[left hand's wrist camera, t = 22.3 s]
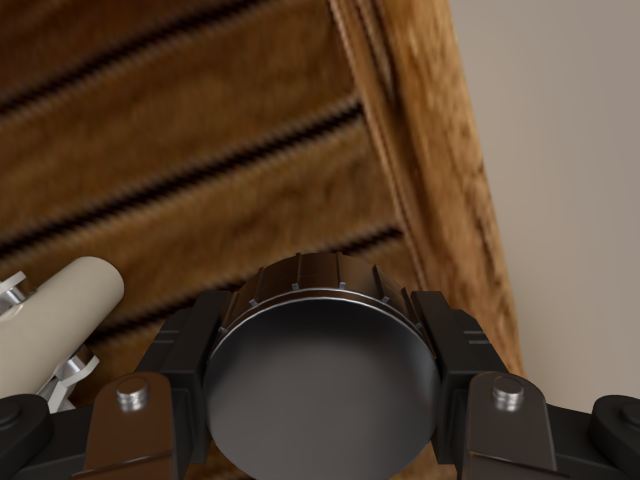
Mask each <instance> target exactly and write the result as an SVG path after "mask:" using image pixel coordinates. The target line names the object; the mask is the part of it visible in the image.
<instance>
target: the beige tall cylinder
mask: <svg viewBox="0 0 640 480" xmlns="http://www.w3.org/2000/svg"><path fill="white" fill-rule="evenodd" d="M123 294H124V283H123V280H122V277H121V275H120V274H119V272H118V271H117V270H116V269H115V268H114V267H113V266H112V265H111V264H110V263H108V262H106V261H104V260H102V259H99V258H96V257H81V258H78V259H76V260H74V261H72V262H71V263H69V264H68V265H67V266H65V267H64V268H63V269H61V270H60V271H59V272H57V273H56V274H55V275H53V276H52V277H51V278H49V279H48V280H47V281H45V282H44V283H43V284H41V285H40V286H38V287H37V291H35V292H34V293H33V294H31V295H30V296H29V297H27V298H26V299H25V300H23V301H22V302H20V303H19V304H17V305H15V306H12V307H10V308H9V309H8V310H6V311H5V312H4V313H2V314H1V315H0V399H1V398H4V397H8V396H12V395H17V394H36V395H37V394H38V393H39V392H40V391H41V390H42V389H43V388H44V386H45V385H46V384H47V383H48V382H49V381H50V380H51V379H52V378H53V376H54V375H55V374H56V373H57V372H58V371H59V370H60V369H61V367H62V366H63V365H64V364H65V363H66V362H67V361H68V360H69V358H70V357H71V356H72V355H73V354H74V353H75V352H76V351H77V350H78V348H79V347H80V346H81V345H82V344H83V343H84V342H85V341H86V339H87V338H88V337H89V336H90V335H91V334H92V333H93V332H94V330H95V329H96V328H97V327H98V326H99V325H100V324H101V323H102V322H103V320H104V319H105V318H106V317H107V316H108V315H109V314H110V313H111V311H112V310H113V309H114V308H115V307H116V306H117V305H118V304H119V303H120V301H121V300H122V297H123Z"/></svg>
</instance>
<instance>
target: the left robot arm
mask: <svg viewBox="0 0 640 480" xmlns="http://www.w3.org/2000/svg"><path fill="white" fill-rule="evenodd" d="M231 297H232V294H231V292H230V291H202V292H201V293H200V295H199V297H198V298H197V300H196V302H195V304H194V306H193V308H192V309H181V310H179V311H178V312H176V313H175V314H173V315H172V316H171V317H169V318H168V319H167V320H166V321H165V323H164V324H163V326H162V328H161V329H160V332H159V333H158V334H157V336H156V337H155V339H154V341H153V343H152V344H151V345H150V347H149V349H148V350H147V352H146V353H145V355H144V357H143V358H142V360H141V361H140V363H139V365H138V366H137V368H136V369H135V371H134V372H133V373H129V374H126V375H123V376H120V377H118V378H116V379H114V380H112V381H110V382H109V383H108V384H106V385H105V386H104V387H103V388H102V389H101V390H100V391H99V392H98V394H97V395H96V397H95V400H94V404H91V405H88V406H84V407H80V408H75V409H70V410H66V411H61V412H56V413H52V414H50V410H49V406H48V403H47V400H46V399H45V398H43V397H42V396H39V395H36V394H17V395H12V396H8V397H4V398H1V399H0V480H183V479H184V477H185V474H186V471H187V468H188V465H189V464H205V462H206V458H207V455H208V452H209V448H210V445H211V441H212V437H211V435H210V433H209V431H208V429H207V426H206V422H205V414H204V405H203V396H202V378H203V374H204V371H205V368H206V365H207V360H208V358H209V355H210V353H211V350H212V348H213V345H214V342H215V340H216V337H217V335H218V332H219V331H218V330H219V328H220V325H221V323H222V320H223V318H224V315H225V312H226V310H227V307H228V305H229V302H230V300H231ZM410 298H411V300H412V303H413V305H414V308H415V310H416V312H417V315H418V317H419V318H421V320H422V323H423V325H424V328H425V330H426V333H427V335H428V337H429V340H430V342H431V345H432V347H433V350H434V352H435V355H436V357H437V360H436V363H437V365H438V368H439V371H440V375H441V379H442V384H441V394H440V403H439V412H438V421H437V427H436V430H435V432H434V434H433V436H432V438H431V442H432V446H433V449H434V452H435V456H436V459H437V462H438V464H454V465H455V468H456V471H457V480H640V399H637V398H633V397H628V396H623V395H607V396H603V397H601V398H599V399H597V400H596V401H595V403H594V406H593V410H592V414H589V413H584V412H579V411H574V410H570V409H565V408H561V407H557V406H553V405H550V404H547V403H546V400H545V397H544V395H543V394H542V392H541V391H540V390H539V389H538V388H537V387H536V386H535V385H534V384H532V383H531V382H530V381H528V380H526V379H524V378H522V377H520V376H517V375H514V374H511V373H509V371H508V370H507V368H506V367H505V365H504V363H503V362H502V360H501V359H500V357H499V355H498V354H497V352H496V351H495V349H494V348H493V346H492V344H490V343H489V340H488V338H487V337H486V335H485V334H483V330H482V329H481V327H480V325H479V324H478V322H477V321H476V319H474V318H473V317H471V316H470V315H469V314H467V313H466V312H464V311H463V310H452V309H450V307H449V305H448V303H447V302H446V300H445V298H444V296H443V294H442V293H441V292H440V291H412V293H411V296H410Z"/></svg>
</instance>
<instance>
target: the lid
mask: <svg viewBox="0 0 640 480" xmlns="http://www.w3.org/2000/svg"><path fill="white" fill-rule="evenodd" d="M218 331H219V332H218V335H217V337H216V340H215V342H214V345H213V348H212V350H211V353H210V355H209V358H208V360H207V365H206V368H205V371H204V374H203V378H202V396H203V405H204V414H205V422H206V426H207V429H208V431H209V433H210V435H211V437H212V439H213V441H214V442H215V443H216V445H217V446H218V448H219V449H220V451H221V452H222V453H223V454H224V455H225V456H226V457H227V458H228V459H229V460H230V461H231V462H232V463H233V464H234V465H235V466H237V467H238V468H239V469H240V470H242V471H243V472H245V473H246V474H248V475H249V476H251V477H253V478H255V479H257V480H387V479H389V478H390V477H392V476H394V475H395V474H397V473H399V472H400V471H402V470H403V469H404V468H405V467H407V466H408V465H409V464H411V463H412V462H413V461H414V460H415V459H416V458H417V457H418V456H419V455H420V453H421V452H422V451H423V450H424V448H425V447H426V446H427V444H428V443H429V441H430V439H431V438H432V436H433V434H434V432H435V430H436V427H437V421H438V412H439V403H440V394H441V384H442V379H441V375H440V371H439V368H438V365H437V363H436V360H437V357H436V355H435V352H434V350H433V347H432V345H431V342H430V340H429V337H428V335H427V333H426V330H425V328H424V325H423V323H422V320H421V318H419V317H418V315H417V312H416V310H415V308H414V305H413V303H412V300H411V298H410V295H409V293H408V290H407V289H406V288H405V287H404V288H403V289H402V288H401V287H400V285H399V284H398V283H397V282H396V281H394V280H393V279H392V278H391V277H390V276H389V275H388V274H386V273H385V272H383V271H382V270H380V267H379V265H377V264H375V265H374V266H373V265H371V264H369V263H367V262H365V261H362V260H359V259H357V258H354V257H350V256H345V255H342V252H337V254H332V253H310V254H304V255H301V253H296V256H294V257H290V258H287V259H283V260H281V261H279V262H276V263H274V264H272V265H270V266H268V267H266V268H264V267H261V268H260V269H259V272H258V273H257V274H256V275H255V276H253V277H252V278H251V279H249V280H248V281H247V283H246V284H245V285H244V286H243V287H242V288H241V289H240V290H239V292H236V291H234V293H233V295H232V297H231V300H230V302H229V305H228V307H227V310H226V312H225V315H224V318H223V320H222V323H221V325H220V328H219V330H218Z"/></svg>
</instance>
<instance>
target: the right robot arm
mask: <svg viewBox="0 0 640 480" xmlns="http://www.w3.org/2000/svg"><path fill="white" fill-rule="evenodd" d="M35 291H37V288H36V287H35V286H34V285H33V284H32V283H31V281H30V280H29V279H28V278H26V276H25V275H24V274H23V272H22V271H19V272H18V273H16V274H14V275H13V276H11V277H10V278H8V279H6V280H5V281H3V282H1V281H0V314H2V313H3V312H5V311H6V310H8V309H9V308H10V307H12V306H15V305H17V304H19V303H20V302H22V301H23V300H25V299H26V298H27V297H29V296H30V295H31V294H33V293H34V292H35ZM98 363H99V359H98V358H97V357H96V356H95V355H94V354H93V353H92V352H91V350H90V349H89V348H88V347H87V346H86V345H85V344H83V345H81V346H80V347H79V348H78V350H77V351H76V352H75V353H74V354H73V355H72V356H71V357H70V358H69V360H68V361H67V362H66V363H65V364H64V365H63V366H62V367H61V369H60V370H59V371H58V372H57V373H56V374H55V376H56V377H57V378H55V379H53V380H51V381H49V382H48V383H47V384H46V385H45V386H44V388H43V389H42V390H41V391H40V392H39V393H38V394H37V395H39V396H42V397H43V398H45V399H46V400H47V403H48V406H49V410H50V414H52V413H56V412H61V411H66V410H70V409H75V407H74V406H73V404H72V403H71V402H70V401H69V400H68V399H67V398H68V397H69V395H70V394H71V393H72V392H73V390H74V387H75V385H76V383H77V382H78V381H79V380H81V379H83V378H85V377H86V376H87V375H89V374H90V373H91V372H92V371H93V369H94V368H95V367H96V365H97V364H98Z"/></svg>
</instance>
